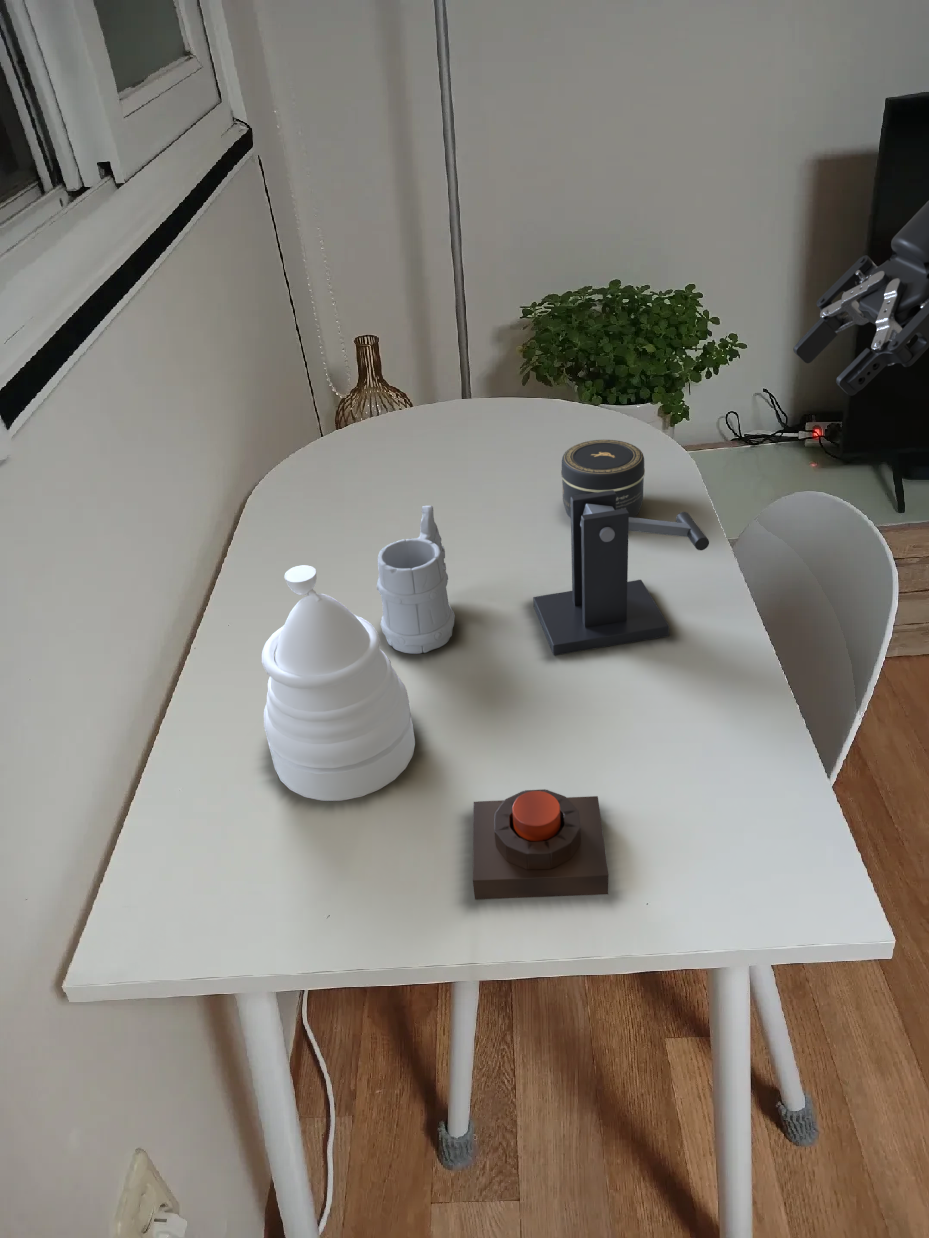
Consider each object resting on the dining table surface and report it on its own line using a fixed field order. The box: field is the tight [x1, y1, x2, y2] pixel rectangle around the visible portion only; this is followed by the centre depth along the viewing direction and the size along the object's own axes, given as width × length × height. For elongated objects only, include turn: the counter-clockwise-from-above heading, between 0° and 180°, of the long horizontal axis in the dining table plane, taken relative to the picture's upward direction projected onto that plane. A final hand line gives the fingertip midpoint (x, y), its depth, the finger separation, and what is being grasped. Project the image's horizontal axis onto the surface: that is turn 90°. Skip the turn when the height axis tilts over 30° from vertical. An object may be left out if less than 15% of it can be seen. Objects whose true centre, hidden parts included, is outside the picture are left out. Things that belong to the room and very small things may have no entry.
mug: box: [376, 505, 456, 655], centre depth 98 cm, size 8×12×12 cm, turn 162°
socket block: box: [472, 788, 609, 901], centre depth 73 cm, size 10×8×4 cm
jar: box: [560, 439, 646, 519], centre depth 116 cm, size 10×10×8 cm
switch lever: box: [580, 504, 710, 551], centre depth 94 cm, size 12×6×2 cm, turn 99°
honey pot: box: [261, 564, 416, 802], centre depth 81 cm, size 13×13×18 cm
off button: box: [512, 791, 561, 842], centre depth 72 cm, size 4×4×2 cm
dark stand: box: [532, 490, 670, 656], centre depth 96 cm, size 12×9×14 cm
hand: (820, 373), depth 88 cm, fingers open, 8 cm apart
